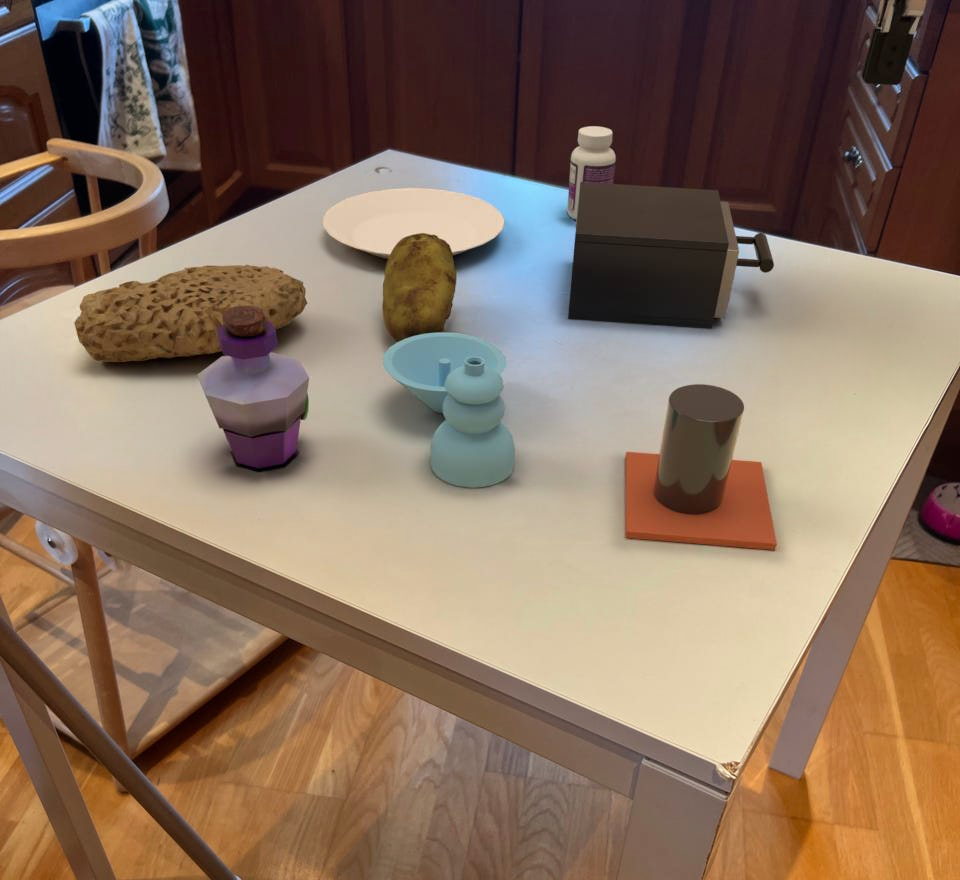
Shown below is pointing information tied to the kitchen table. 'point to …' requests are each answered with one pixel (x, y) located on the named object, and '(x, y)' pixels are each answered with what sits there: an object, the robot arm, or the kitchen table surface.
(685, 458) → the dark glossy cylinder
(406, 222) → the plate
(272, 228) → the kitchen table surface
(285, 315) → the sponge
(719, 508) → the mat
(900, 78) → the robot arm
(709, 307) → the dark brown box
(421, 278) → the potato
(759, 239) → the drawer
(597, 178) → the pill bottle
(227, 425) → the potion bottle
